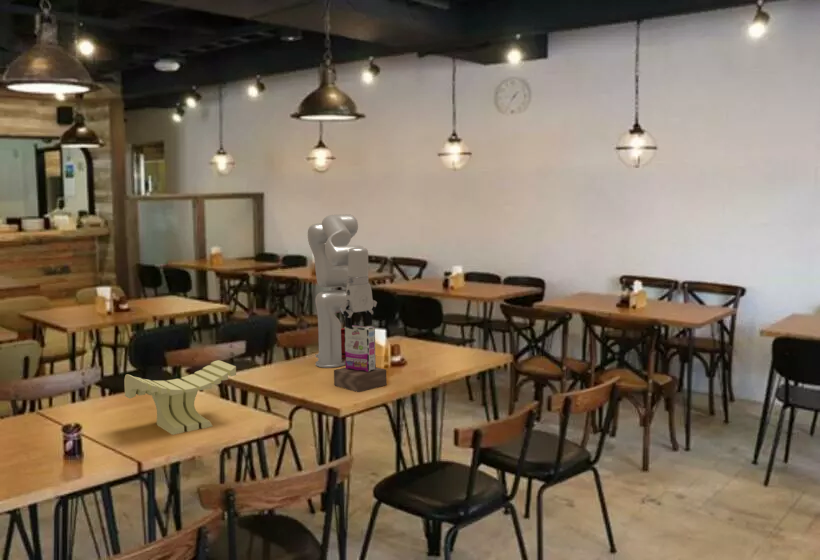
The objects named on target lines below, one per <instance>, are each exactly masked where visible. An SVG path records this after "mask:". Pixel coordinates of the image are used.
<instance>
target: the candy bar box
mask: <svg viewBox="0 0 820 560" xmlns="http://www.w3.org/2000/svg"><path fill="white" fill-rule="evenodd" d="M343 328H345V359H344V361H345V365H344V368H345V369H349V370H357V371H365V372H370V371H373V370H376V365H377V364H376V363H377V361H376V327H375V326H368V325H367V326H365V325H364V326H363V325H353V324H352V328H346V326H344V327H343Z"/></svg>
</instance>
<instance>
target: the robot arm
mask: <svg viewBox="0 0 820 560" xmlns="http://www.w3.org/2000/svg"><path fill="white" fill-rule="evenodd" d="M358 230H359V223H358V220H357V218H356V216H354V215H352V214H330V215H327V216H325V217H324V218H323V219H322V222H320V223H319V222H318V223H314V224H312V225H310V226H309V227H308V229H307V239H308V240H307V242H308V244H309V247H310V249H311V252H312V255H313V259H314V260H313V261H314V268H315V269H314V270H315V277H316V283H317V285H318V287H320V288H323V289H328V288H330V289H332V288H342V289H336V290H335V289H333V290H323V291H320V292H318V293H317V294H316V295H315V302H314V303H315V307H316V313H317V315H316V316H317V327H318V328H317V329H318V334H317V335H318V353H316V354H315V356H314V357H315V358H317V361H316V362H315V366H316V367H318V368H326V369H327V368H339V367H343V366H345V359H344V360H343V359H342V352H341V329H342V324H341V321H340V319H339V318H338V317H337V316H336V315H335V314H338V313H341V315H343V317H344V318H345V319H344V320H345V321H344V323H345V325H344V326H345V327H346V328H352V325H353V318H352V316H353V314H354V313H360V312H365V314H364V315H365V317H364V318H365V319H364V322H365V323H364V324H365V325H367V326H369V325H370V326H371V325H373V315H374V311H375V310H376V307H377V304H378V302H377V301H376V300H374V299H373V291H372V290H373V289H372V286H371V284H370V283H369V251H368V249H367V248H365V247H364V246H362V245H349V243H350V242H351V239H352V238H353V237H355V235H356V234H357V233H358Z"/></svg>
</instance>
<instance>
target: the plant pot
mask: <svg viewBox="0 0 820 560" xmlns="http://www.w3.org/2000/svg"><path fill="white" fill-rule="evenodd" d="M341 352H342V360H343V359H344V360H345V328H344V327H343V328H342V327H341Z"/></svg>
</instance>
